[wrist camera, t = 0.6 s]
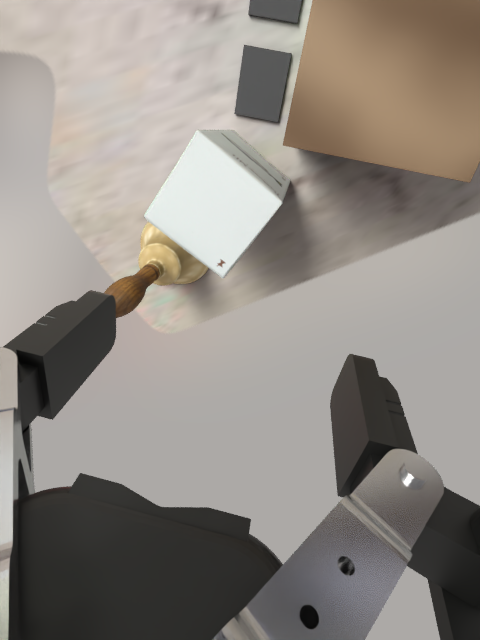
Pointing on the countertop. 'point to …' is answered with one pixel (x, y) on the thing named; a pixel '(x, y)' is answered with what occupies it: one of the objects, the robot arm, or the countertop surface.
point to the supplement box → (218, 198)
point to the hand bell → (155, 269)
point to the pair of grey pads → (265, 66)
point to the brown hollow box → (391, 84)
